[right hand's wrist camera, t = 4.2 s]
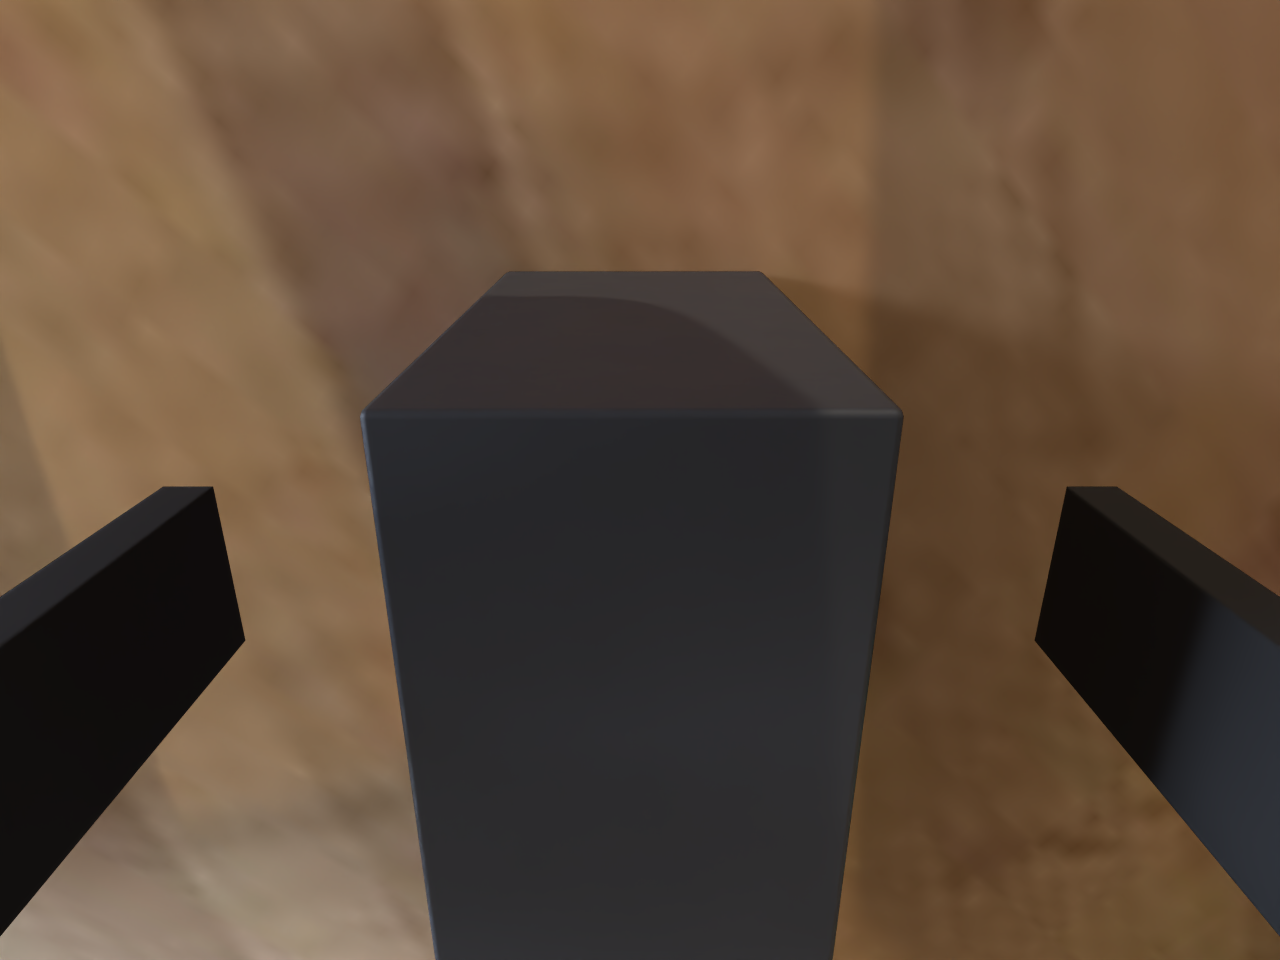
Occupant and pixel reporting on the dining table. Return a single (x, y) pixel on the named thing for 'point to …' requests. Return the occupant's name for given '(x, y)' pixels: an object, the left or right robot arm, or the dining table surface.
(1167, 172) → the dining table surface
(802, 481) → the charcoal bar
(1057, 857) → the dining table surface
